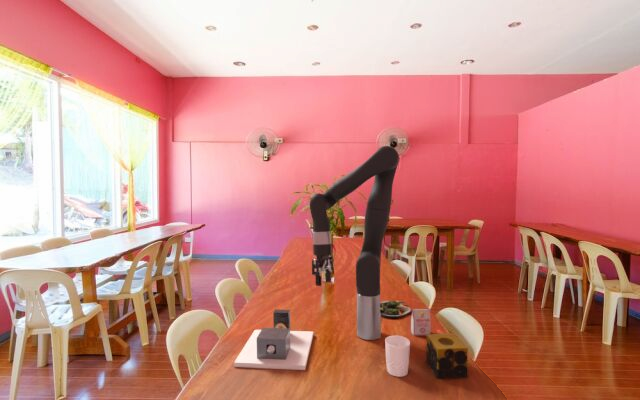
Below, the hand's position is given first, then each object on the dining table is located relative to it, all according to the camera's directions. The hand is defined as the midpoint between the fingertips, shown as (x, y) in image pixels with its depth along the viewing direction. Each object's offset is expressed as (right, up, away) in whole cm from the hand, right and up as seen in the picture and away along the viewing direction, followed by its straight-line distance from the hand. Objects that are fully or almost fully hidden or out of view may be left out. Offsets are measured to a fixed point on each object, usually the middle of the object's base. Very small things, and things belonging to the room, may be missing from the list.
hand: (323, 283), depth 130 cm
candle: (+40, -22, -24) cm, 51 cm away
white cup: (+24, -22, -24) cm, 41 cm away
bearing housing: (-18, -20, -15) cm, 31 cm away
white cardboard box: (+39, -21, +1) cm, 44 cm away
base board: (-17, -22, -10) cm, 29 cm away
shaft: (-17, -20, -10) cm, 28 cm away
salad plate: (+31, -20, +24) cm, 44 cm away
